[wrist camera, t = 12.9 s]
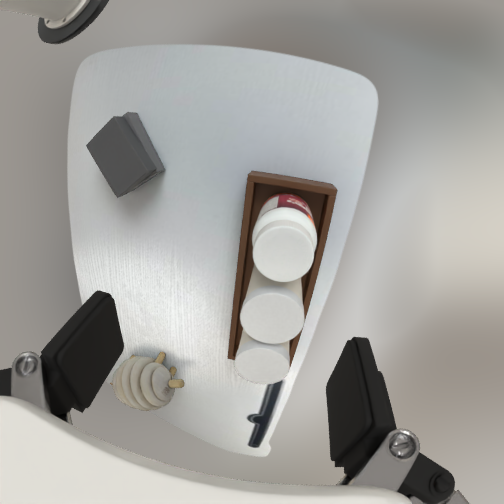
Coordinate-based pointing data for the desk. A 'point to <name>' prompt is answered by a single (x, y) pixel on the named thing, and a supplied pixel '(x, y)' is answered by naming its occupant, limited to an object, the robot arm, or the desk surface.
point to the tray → (256, 195)
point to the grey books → (125, 154)
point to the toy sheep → (145, 382)
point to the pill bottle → (284, 238)
